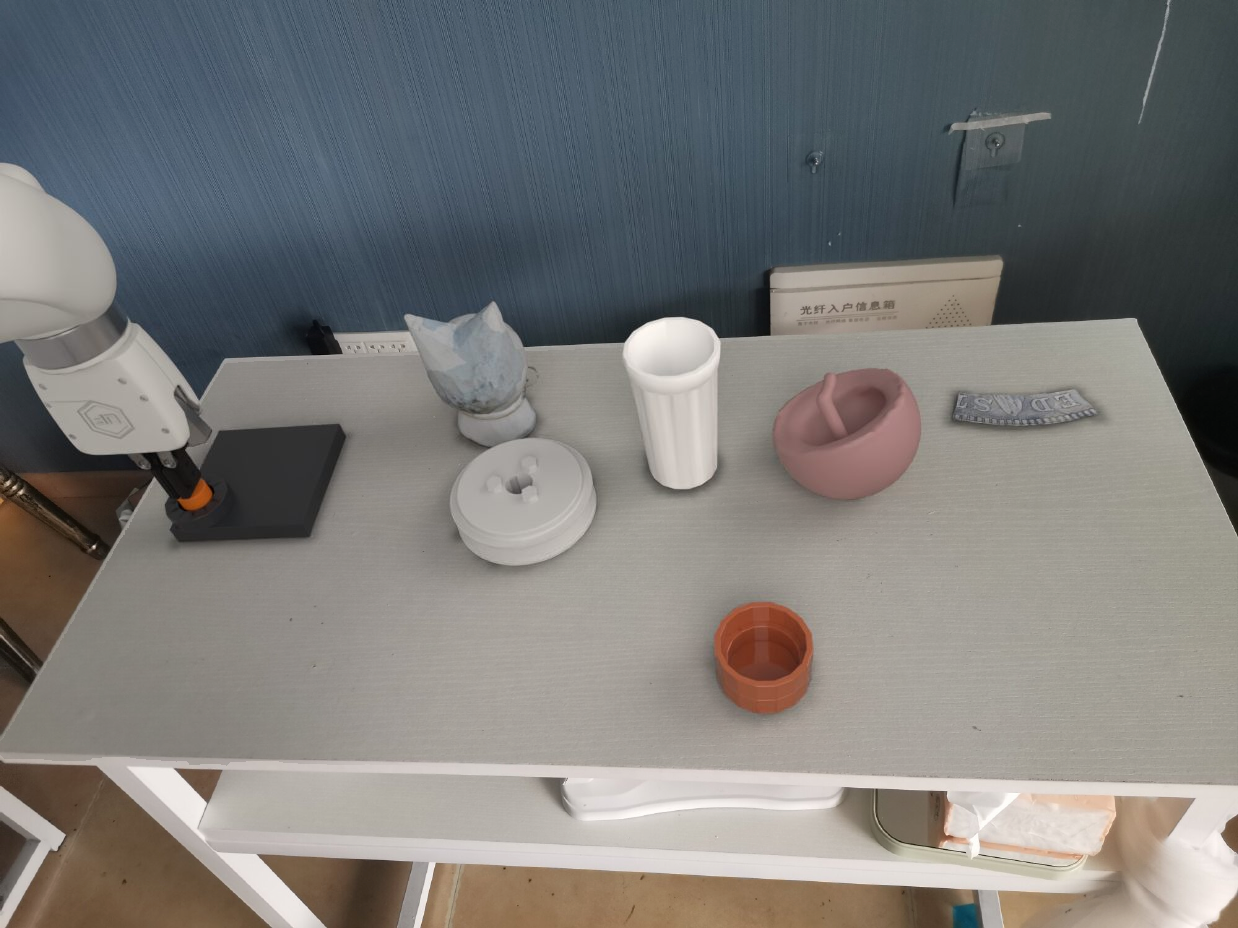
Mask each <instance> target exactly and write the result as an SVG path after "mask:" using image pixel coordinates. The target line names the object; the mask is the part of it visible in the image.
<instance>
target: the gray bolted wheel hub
mask: <svg viewBox="0 0 1238 928" xmlns="http://www.w3.org/2000/svg"><path fill="white" fill-rule="evenodd" d="M592 475H593V474H592V471H591V468H590V465H589V463H588V461H587V460H586V459H585V458H584V457H583V455H582V454H581V453H580V452H578V450H576V449H575V448H573V447H571V446H570V445H568V444H567V443H564V442H561V441H558V440H556V439H550V438H545V437H525V438H523V439H516V440H512V441H508V442H505V443H502V444H499V445H497V446H494V447H489V448H488V449H486V450H484V451H483V452H481V453H480V454H479V455H477V456H476V457H473V459H472V460H471V461H470V462H468V463H467V465H466V466H464V467H463V469H462V470H461V471H460V473H459V474H458V476H457V477H456V479H455V481H454V484H453V485H452V488H451V491H450V496H449V510H450V513H451V516H452V518H453V521H454V523H455V525H456V527H457V530H458V533H459V536H460V538H461V540H462V542H463V544H464V545H465V546H466V547H467V548H468V550H470V551H471V552H472V553H473V554H474V555H476V556H477V557H478V558H481V559H483V560H485V561H486V562H490V563H493V564H496V565H502V566H515V567H517V566H527V565H533V564H537V563H541V562H545V561H547V560H550V559H552V558H554V557H557V556H558V555H561V554H562V553H564V552H565V551H567V550H569V549H570V548H571V547H573V546H574V545H575V544H576V543H577V542H578V541H579V540H580V539H581V538H582V537H583V536H584V534H586V532H587V531H588V529H589V528H590V526H591V524H592V523H593V521H594V517H595V515H596V510H597V493H596V489H595V486H594V484H593V482H594V481H593V480H594V479H593V476H592Z"/></svg>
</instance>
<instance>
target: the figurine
mask: <svg viewBox="0 0 1238 928" xmlns="http://www.w3.org/2000/svg"><path fill="white" fill-rule="evenodd" d="M403 319H404V321H405V324H406V326H407V329H408V332H409V334H410V336H411V338H412V340H413V343H414V344H415V348H416V349H417V352H418V354H419V356H420V358H421V361H422V364H423V366H424V369H425V371H426V374H427V377H428V380H429V382H430V384H431V386H432V387H433V389H434V390H435V391H434V392H435V393H436V394H437V397H439V398H440V399H441V401H442V402H444V403H445V404H446V405H448V406H449V407H451V408H453V409H456V410H458V413H457V427H458V429H459V430H460V433H461V434H462V436H463V437H464V438H465V439H466V440H469V441H473V442H475V443H477V444H479V446H483V447H484V448H485V447H486V448H492V447H494V446H497V445H499V444H502V443H505V442H508V441H512V440H516V439H523V438H528V436H529V435H531V434H532V433H533V432H534V430H535V427H536V425H537V414H536V412H535V410H534V409H533V407H532V406H531V404H530V403H529V401H528V399H527V397H526V394H527V388H528V387H532V386H534V385H535V384H536V383H537V382H538V381H539V379H540V374H539V371H538V370H537V368H536V367H534V366H530V365H529V363H528V357H527V352H526V350H525V347H524V345H523V342H522V340H521V338H520V337H519V335H518V334H517V332H516V331H515V330H514V329H513V328H512V327H511V326H510V325H509V324H508V323H506V322H505V321H504V319H503V316H502V313H501V311H500V309H499V306H498V305H497V303H496V302H495V301H494V300H492V301H490V303H489V304H488V305H486V306H485V307H484V308H482V309H481V310H479V312H477V313H466V314H464V315H460V316H457V317H454V318H453V319H451V320H449V321H448V322H443V321H439V320H435V319H431V318H427V317H422V316H416V315H413V314H411V313H406V314H404V315H403ZM528 369H531V370H533V371H534V372H535V373H536V380H535V382H533V383H530V384H527V383H528V382H529V378H527V377H528Z"/></svg>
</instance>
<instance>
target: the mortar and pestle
mask: <svg viewBox="0 0 1238 928" xmlns="http://www.w3.org/2000/svg"><path fill="white" fill-rule="evenodd" d="M921 418H922V417H921V412H920V408H919V404H918V401H917V400H916V397H915V395H914V393H913V391H912V390H911V388H910V387H909V385H908V384H907V382H906V381H905V380H904V378H903V377H901V375H899V374H898V373H896V372H894V371H892V370H890V369H888V368H877V367H875V368H874V367H868V368H858V369H853V370H848V371H845V372H840V373H837V374H835V373H833V372H827V373H825V374H824V377H823V379H822V380H820V381H818V382H816V383H814V384H812V385H810V386H808V387H806V388H805V389H804V390H802V391H800V392H798V393H797V394H796V395H794V396H793V397H792V398H791V399H789V400H788V401H786V403H784V405H783V406H782V407H781V408H780V409H779V410H778V412H777V414H776V416H775V418H774V422H773V426H772V441H773V446H774V449H775V452H776V453H777V456H778V458H779V460H780V462H781V465H783V467H784V468H785V470H786V471H787V473H789V475H790V476H791V477H792V478H793V479H794V480H795V481H796V482H797V483H799V484H800V485H801V486H802V487H804V488H805V489H807V490H808V491H810V492H812V493H814V494H817V495H818V496H822V497H825V498H829V499H834V500H843V501H844V500H845V501H846V500H858V499H863V498H864V499H865V498H867V497H870V496H873V495H876V494H878V493H880V492H882V491H884V490H885V489H887V488H889V487H891V486H892V485H893V484H894V483H896V482H897V481H898V480H899V479H900V478H901V477H902V476H903V475H904V474H905V473H906V472H907V470H908V469H909V467H910V466H911V464H912V463H913V462H914V459H915V457H916V454H917V452H918V449H919V445H920V442H921V436H922V419H921Z"/></svg>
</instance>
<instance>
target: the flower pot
mask: <svg viewBox="0 0 1238 928" xmlns="http://www.w3.org/2000/svg"><path fill="white" fill-rule="evenodd" d="M812 635H813V634H812V632H811V631H810V628H809V626H808V625H807V624H806V622H805V620H804V619H803V618H802V617H801V616H800V615H799V614H797V613H796V612H794V611H793V610H791V609H790V607H787V606H784V605H782V604H778V603H775V602H771V601H756V602H748V603H746V604H743V605H741V606H738V607H735V608H733V609H732V610H731V611H730V612H729V613H728V614H727V615H726V616H725V617H723V618H722V619H721V620H720V622H719V625H718V627H717V629H716V631H715V634H714V642H713V643H714V658H715V670H716V680H717V682H718V684H719V686H720V688H721V690H722V692H723V694H724V695H725V697H727V699H729V700H730V701H731V702H732V703H733V704H735V705H736V706H737V707H739V708H741V709H743V710H746V711H749V712H752V713H755V714H776V713H781V712H783V711H785V710H788V709H791V708H792V707H794V706H795V705H796V704H797V703H799V701H801V700H802V699H803V697H805V695H806V694H807V693H808V690H809V688H810V687H809V686H810V684H811V682H812V676H813V662H814V661H813V659H814V644H813V636H812Z"/></svg>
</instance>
